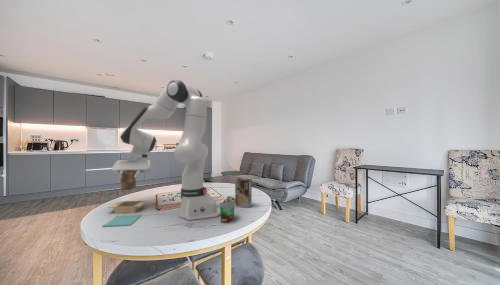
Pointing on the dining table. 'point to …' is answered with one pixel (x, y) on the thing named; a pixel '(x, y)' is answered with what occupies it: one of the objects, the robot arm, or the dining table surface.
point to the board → (122, 220)
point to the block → (128, 181)
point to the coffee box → (243, 192)
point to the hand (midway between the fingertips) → (128, 178)
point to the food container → (227, 209)
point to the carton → (127, 206)
